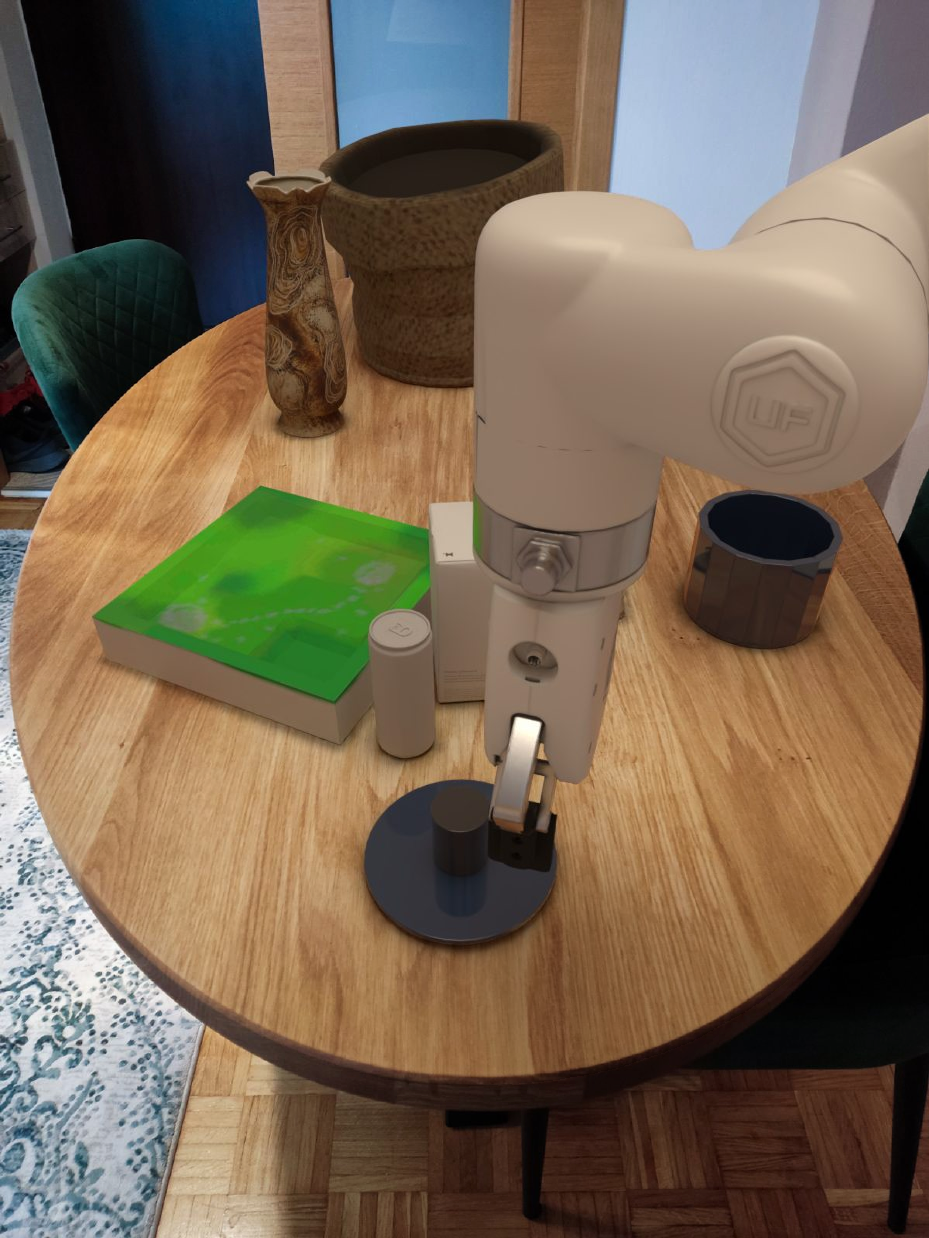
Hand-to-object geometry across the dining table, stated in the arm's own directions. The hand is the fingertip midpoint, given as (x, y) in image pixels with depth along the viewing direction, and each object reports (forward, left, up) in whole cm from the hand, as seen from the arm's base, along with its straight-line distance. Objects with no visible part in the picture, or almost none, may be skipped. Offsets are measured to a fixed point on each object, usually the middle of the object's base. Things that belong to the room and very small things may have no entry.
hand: (539, 788), depth 48 cm
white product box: (+16, -23, -16) cm, 32 cm away
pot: (+58, -84, -16) cm, 103 cm away
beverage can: (+17, -12, -16) cm, 27 cm away
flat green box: (+35, -20, -16) cm, 44 cm away
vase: (+60, -54, -16) cm, 82 cm away
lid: (+7, -4, -16) cm, 18 cm away
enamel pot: (-2, -44, -16) cm, 47 cm away
